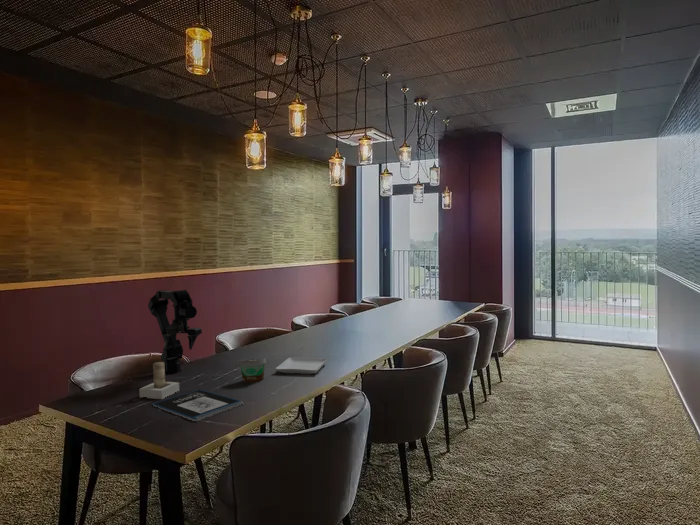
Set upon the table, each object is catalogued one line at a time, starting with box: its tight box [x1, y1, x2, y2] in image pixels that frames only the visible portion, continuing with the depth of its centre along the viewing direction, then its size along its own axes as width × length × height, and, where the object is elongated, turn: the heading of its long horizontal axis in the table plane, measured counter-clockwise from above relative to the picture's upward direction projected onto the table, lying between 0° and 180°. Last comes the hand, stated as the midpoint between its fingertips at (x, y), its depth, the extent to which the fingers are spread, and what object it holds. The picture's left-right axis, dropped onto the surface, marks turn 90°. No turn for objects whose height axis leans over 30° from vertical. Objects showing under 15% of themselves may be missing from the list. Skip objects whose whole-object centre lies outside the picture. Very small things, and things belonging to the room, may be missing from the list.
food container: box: [238, 357, 267, 384], centre depth 208 cm, size 12×6×10 cm, turn 105°
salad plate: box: [275, 356, 329, 375], centre depth 227 cm, size 21×21×3 cm
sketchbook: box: [151, 389, 244, 422], centre depth 180 cm, size 22×30×2 cm
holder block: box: [138, 381, 180, 400], centre depth 194 cm, size 11×11×4 cm
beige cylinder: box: [152, 361, 166, 389], centre depth 194 cm, size 4×4×13 cm
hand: (182, 349), depth 220 cm, fingers open, 9 cm apart
